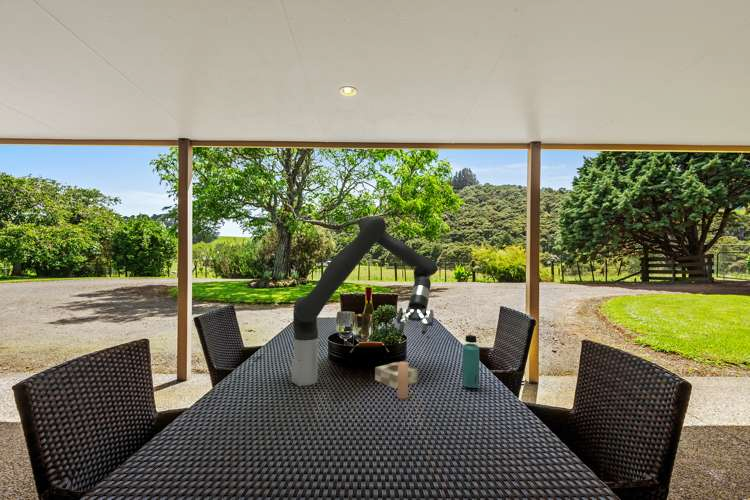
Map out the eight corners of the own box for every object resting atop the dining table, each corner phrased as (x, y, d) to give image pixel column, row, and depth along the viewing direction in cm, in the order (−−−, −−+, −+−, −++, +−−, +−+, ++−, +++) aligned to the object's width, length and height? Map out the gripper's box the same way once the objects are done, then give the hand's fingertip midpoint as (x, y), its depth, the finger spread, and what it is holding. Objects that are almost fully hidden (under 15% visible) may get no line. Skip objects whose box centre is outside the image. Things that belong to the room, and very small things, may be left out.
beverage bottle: (475, 393, 136) (476, 338, 136) (458, 388, 140) (459, 335, 140) (482, 388, 141) (482, 335, 141) (465, 383, 145) (466, 332, 145)
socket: (395, 388, 139) (395, 375, 139) (375, 379, 148) (375, 367, 148) (417, 381, 146) (417, 368, 146) (397, 373, 156) (397, 361, 156)
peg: (402, 399, 129) (403, 365, 129) (395, 396, 132) (396, 362, 132) (409, 397, 131) (410, 363, 131) (402, 394, 134) (403, 360, 134)
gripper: (400, 292, 153) (392, 325, 142) (435, 294, 148) (428, 328, 137) (404, 303, 158) (396, 336, 147) (437, 305, 153) (431, 339, 142)
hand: (412, 332), depth 142 cm, fingers open, 8 cm apart
